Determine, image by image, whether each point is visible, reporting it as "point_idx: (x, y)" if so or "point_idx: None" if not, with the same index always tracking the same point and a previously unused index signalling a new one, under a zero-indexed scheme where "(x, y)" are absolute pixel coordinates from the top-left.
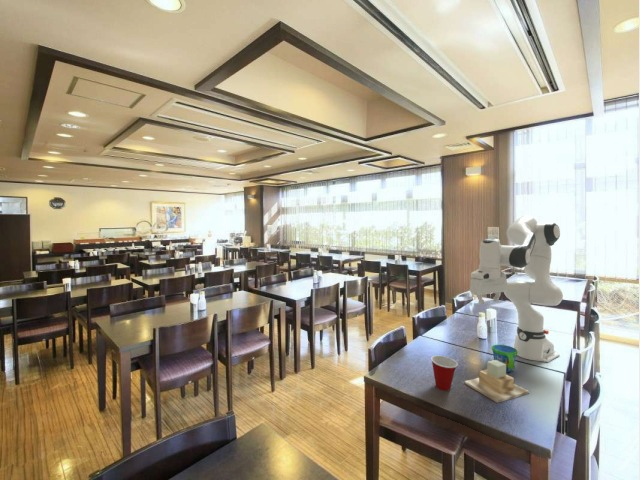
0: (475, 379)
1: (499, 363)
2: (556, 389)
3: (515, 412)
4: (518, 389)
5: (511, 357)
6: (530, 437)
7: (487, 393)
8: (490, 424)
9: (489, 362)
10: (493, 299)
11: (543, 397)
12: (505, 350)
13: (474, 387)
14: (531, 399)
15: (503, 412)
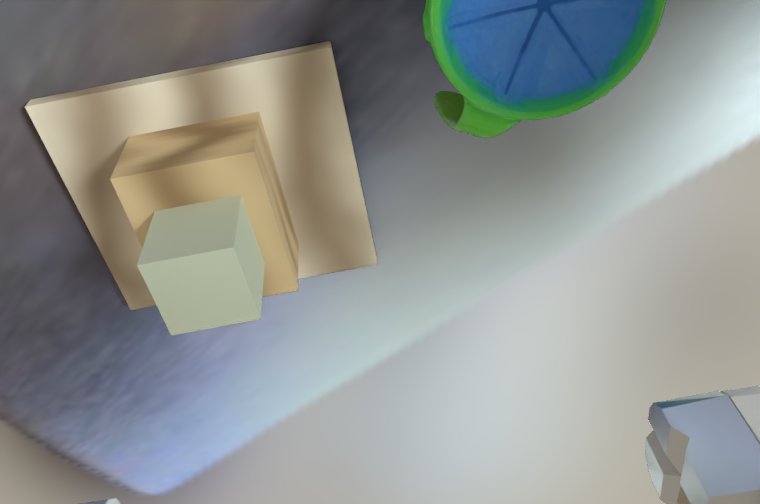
0: (122, 98)
1: (219, 301)
2: (568, 245)
3: (176, 363)
4: (332, 244)
5: (481, 133)
6: (129, 466)
7: (111, 252)
8: (5, 408)
9: (147, 278)
10: (683, 439)
11: (420, 292)
12: (551, 11)
13: (64, 179)
14: (341, 298)
15: (116, 358)
